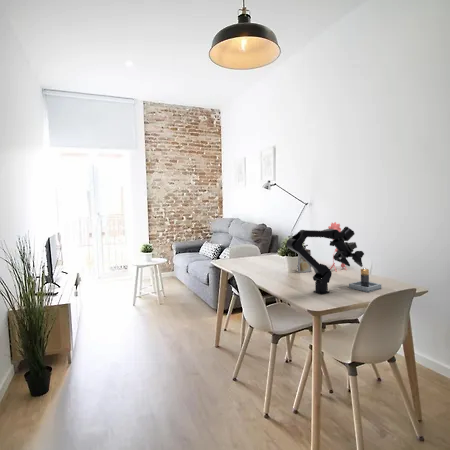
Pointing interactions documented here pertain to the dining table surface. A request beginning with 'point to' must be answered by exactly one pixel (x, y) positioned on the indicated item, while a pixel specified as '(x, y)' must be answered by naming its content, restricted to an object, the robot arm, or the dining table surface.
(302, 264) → the coffee box
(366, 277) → the big battery
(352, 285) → the grey tray
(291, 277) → the dining table surface
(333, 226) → the pink flower sprig
